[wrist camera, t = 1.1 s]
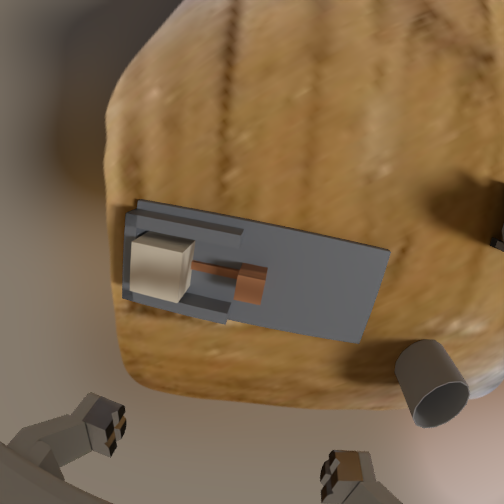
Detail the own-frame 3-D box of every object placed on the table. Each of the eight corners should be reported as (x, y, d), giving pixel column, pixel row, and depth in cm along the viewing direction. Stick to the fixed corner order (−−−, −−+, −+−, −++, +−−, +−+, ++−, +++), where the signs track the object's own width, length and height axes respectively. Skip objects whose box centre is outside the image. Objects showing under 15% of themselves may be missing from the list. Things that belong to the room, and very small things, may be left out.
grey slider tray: (141, 199, 38) (126, 204, 34) (388, 249, 36) (398, 260, 33) (135, 292, 42) (122, 305, 38) (357, 339, 40) (363, 356, 37)
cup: (424, 387, 42) (444, 430, 33) (384, 378, 42) (400, 425, 33) (453, 345, 39) (480, 385, 30) (413, 333, 39) (438, 376, 30)
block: (149, 230, 38) (131, 241, 33) (270, 255, 37) (267, 270, 32) (146, 275, 40) (129, 290, 35) (260, 301, 39) (256, 321, 34)
